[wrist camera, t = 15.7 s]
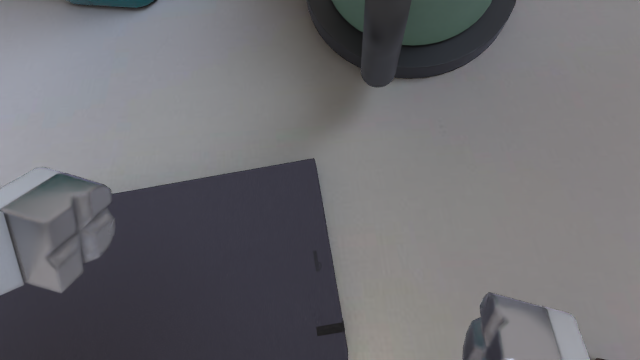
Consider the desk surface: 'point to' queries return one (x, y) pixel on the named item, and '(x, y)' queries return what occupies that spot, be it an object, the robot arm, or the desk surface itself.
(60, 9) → the desk surface
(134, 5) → the pitcher
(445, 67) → the kettle base
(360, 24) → the kettle
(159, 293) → the notebook
